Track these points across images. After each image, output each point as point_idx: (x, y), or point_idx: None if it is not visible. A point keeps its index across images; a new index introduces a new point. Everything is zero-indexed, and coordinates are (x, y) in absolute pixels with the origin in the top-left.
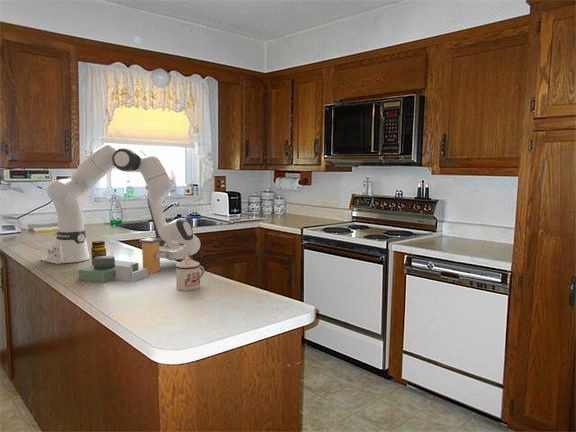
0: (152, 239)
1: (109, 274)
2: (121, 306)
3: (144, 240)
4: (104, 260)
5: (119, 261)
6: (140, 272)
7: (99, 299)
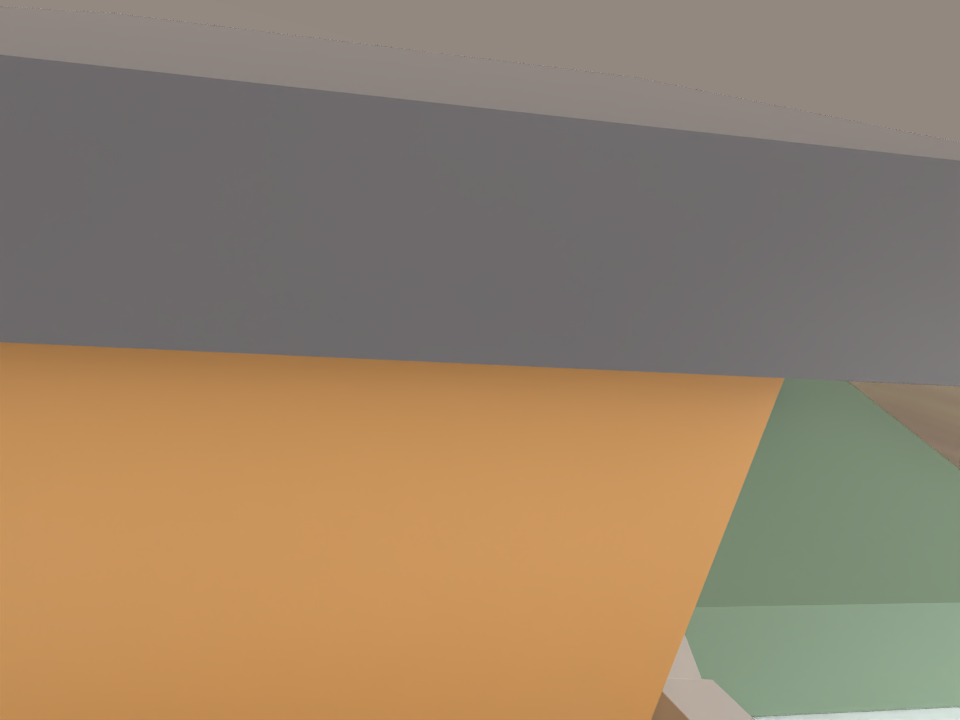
0: (242, 40)
1: None
2: None
3: (423, 52)
4: None
5: (936, 563)
6: None
7: None
